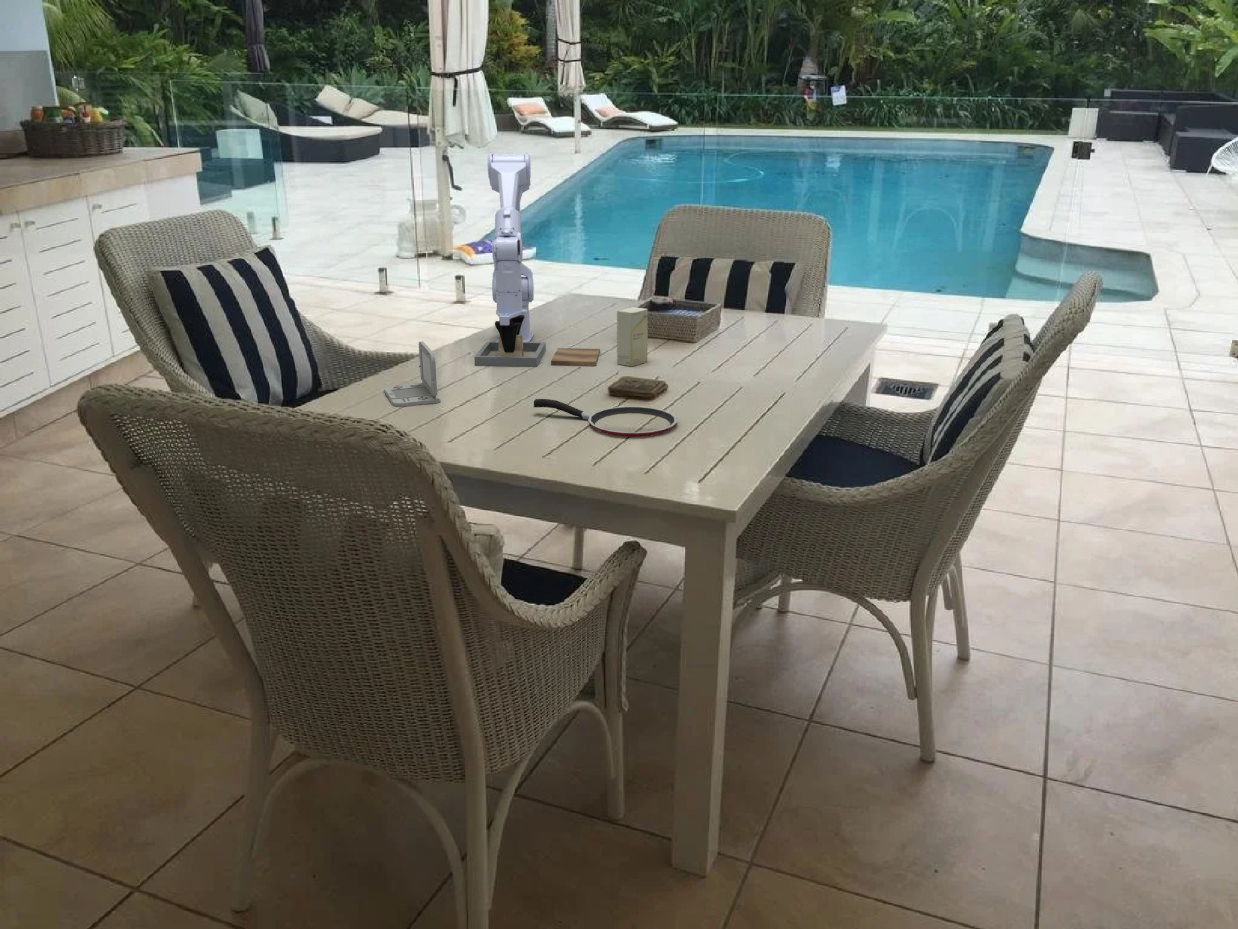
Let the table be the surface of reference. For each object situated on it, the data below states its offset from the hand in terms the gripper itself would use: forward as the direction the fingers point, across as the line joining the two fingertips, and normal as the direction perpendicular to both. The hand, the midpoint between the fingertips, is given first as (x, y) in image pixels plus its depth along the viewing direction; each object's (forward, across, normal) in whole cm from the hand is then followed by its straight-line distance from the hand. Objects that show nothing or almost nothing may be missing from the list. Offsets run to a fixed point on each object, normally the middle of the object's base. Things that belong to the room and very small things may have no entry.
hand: (510, 349), depth 242 cm
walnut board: (+2, 0, -15) cm, 15 cm away
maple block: (+2, 0, 0) cm, 2 cm away
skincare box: (+2, -2, -28) cm, 28 cm away
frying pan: (+2, -46, -25) cm, 53 cm away
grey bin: (+2, 0, 0) cm, 2 cm away
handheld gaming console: (+2, -32, +15) cm, 36 cm away
